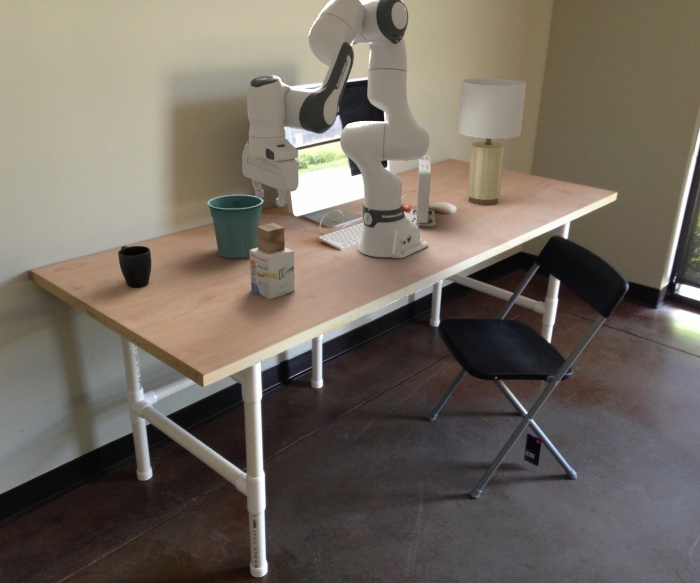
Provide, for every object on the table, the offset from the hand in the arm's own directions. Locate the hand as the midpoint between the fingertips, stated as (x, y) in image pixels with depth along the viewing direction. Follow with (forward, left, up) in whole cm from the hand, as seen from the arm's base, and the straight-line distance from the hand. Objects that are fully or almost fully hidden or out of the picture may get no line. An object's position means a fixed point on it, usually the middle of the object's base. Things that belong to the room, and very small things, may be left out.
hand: (270, 201), depth 170 cm
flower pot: (-8, -31, -25) cm, 40 cm away
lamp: (-112, -23, -25) cm, 117 cm away
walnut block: (0, 0, -13) cm, 13 cm away
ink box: (0, 0, -25) cm, 25 cm away
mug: (+26, -28, -25) cm, 46 cm away
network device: (-78, -22, -25) cm, 85 cm away
